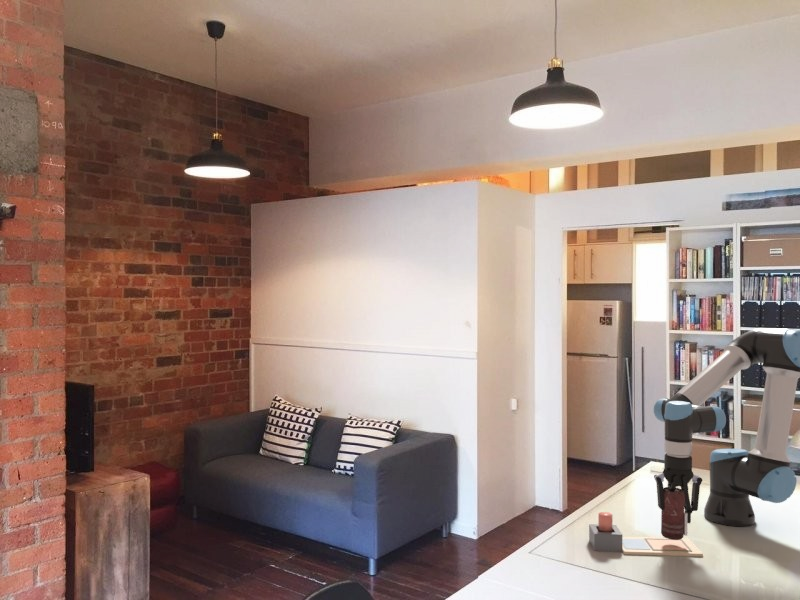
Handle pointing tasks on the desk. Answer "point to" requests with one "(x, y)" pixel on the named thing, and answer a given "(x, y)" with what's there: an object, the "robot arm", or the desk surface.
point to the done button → (605, 521)
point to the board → (659, 546)
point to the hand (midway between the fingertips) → (677, 533)
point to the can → (673, 514)
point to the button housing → (605, 539)
